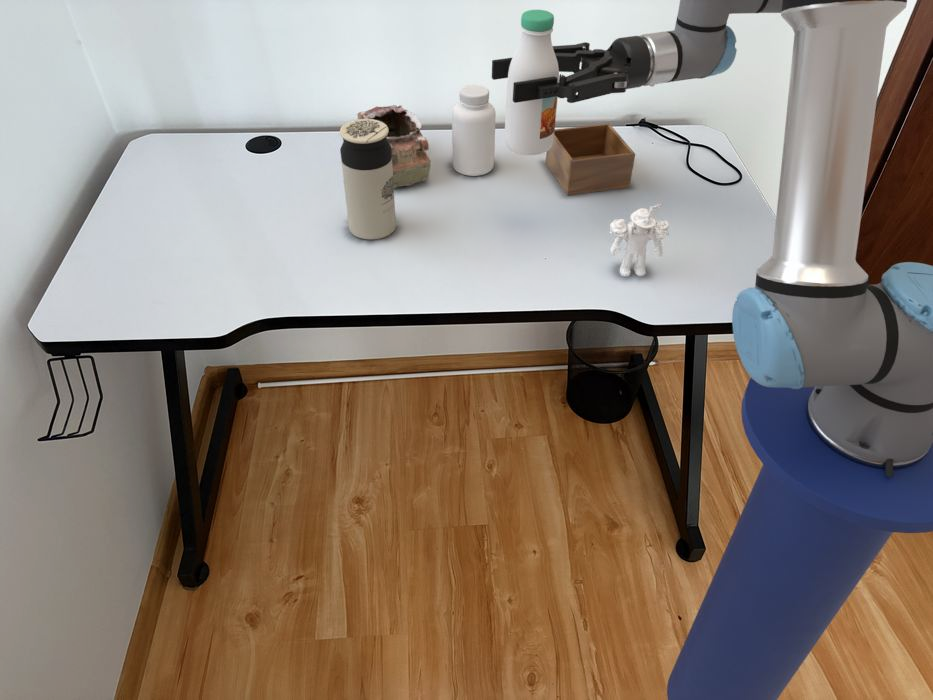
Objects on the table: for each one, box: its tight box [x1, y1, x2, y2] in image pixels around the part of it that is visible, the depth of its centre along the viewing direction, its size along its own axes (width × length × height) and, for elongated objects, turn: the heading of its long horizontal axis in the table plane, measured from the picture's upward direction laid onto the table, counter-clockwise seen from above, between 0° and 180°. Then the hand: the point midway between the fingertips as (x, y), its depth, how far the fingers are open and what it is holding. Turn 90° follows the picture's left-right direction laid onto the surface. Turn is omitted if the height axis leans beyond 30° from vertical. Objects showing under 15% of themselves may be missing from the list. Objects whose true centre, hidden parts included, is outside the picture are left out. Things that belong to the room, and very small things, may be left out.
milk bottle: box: [504, 9, 560, 156], centre depth 113 cm, size 8×8×20 cm
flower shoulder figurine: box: [609, 202, 670, 277], centre depth 117 cm, size 9×4×12 cm, turn 89°
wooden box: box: [545, 122, 636, 196], centre depth 140 cm, size 12×12×7 cm
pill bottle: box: [451, 84, 497, 177], centre depth 139 cm, size 8×8×15 cm
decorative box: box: [356, 104, 432, 189], centre depth 141 cm, size 13×20×10 cm, turn 16°
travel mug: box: [339, 118, 397, 240], centre depth 123 cm, size 8×8×18 cm
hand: (503, 81), depth 111 cm, fingers closed on milk bottle, 8 cm apart
